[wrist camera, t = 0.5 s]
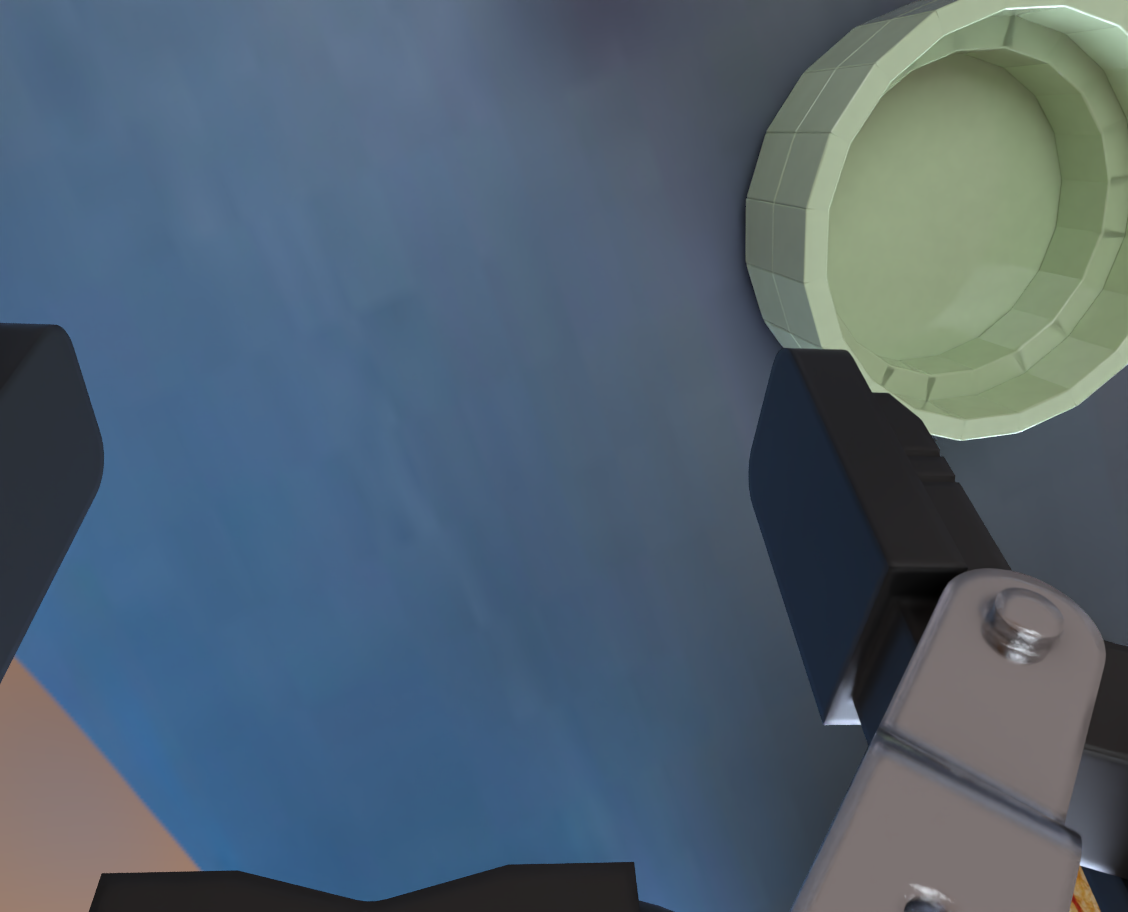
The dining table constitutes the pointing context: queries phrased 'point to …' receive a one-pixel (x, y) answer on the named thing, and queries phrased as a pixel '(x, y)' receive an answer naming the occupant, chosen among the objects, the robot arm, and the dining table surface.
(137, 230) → the dining table surface
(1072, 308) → the bowl
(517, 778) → the dining table surface
